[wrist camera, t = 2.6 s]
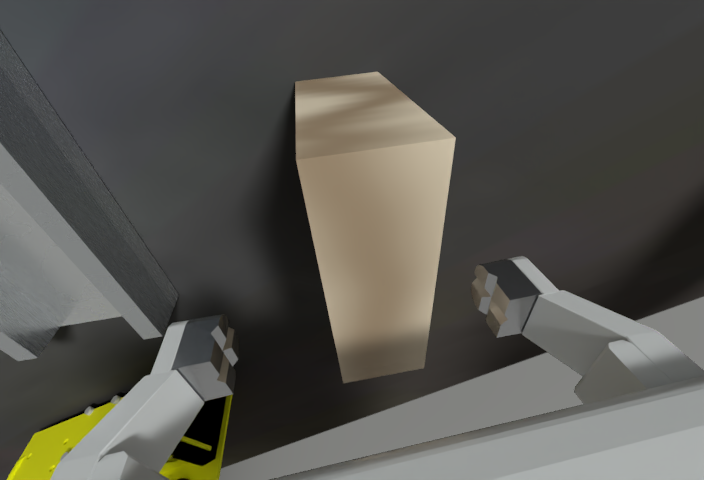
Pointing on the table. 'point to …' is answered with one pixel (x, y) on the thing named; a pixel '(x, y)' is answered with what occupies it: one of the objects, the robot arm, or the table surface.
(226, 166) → the table surface
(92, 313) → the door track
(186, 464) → the yellow toy chassis
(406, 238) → the tan rectangular block
